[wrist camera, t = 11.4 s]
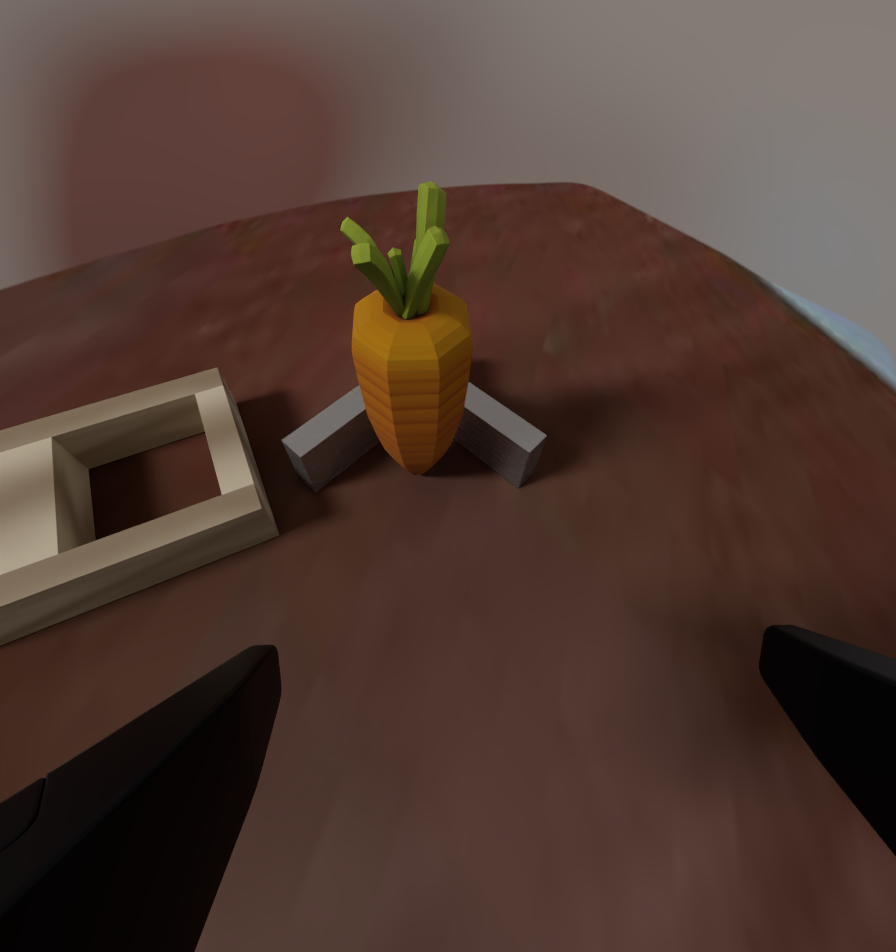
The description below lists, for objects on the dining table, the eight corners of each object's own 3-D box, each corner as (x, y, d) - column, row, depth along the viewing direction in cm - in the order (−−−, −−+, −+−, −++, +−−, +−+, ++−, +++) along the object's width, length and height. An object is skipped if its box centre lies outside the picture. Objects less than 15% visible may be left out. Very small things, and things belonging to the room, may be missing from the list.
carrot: (394, 522, 25) (356, 268, 12) (362, 453, 27) (300, 178, 14) (476, 488, 26) (519, 226, 13) (438, 425, 28) (445, 149, 16)
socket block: (279, 535, 24) (261, 508, 22) (-32, 658, 21) (-97, 643, 18) (236, 402, 29) (217, 367, 26) (-25, 484, 25) (-76, 452, 23)
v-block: (536, 487, 26) (550, 452, 23) (296, 493, 26) (278, 457, 23) (517, 374, 31) (526, 332, 28) (313, 376, 30) (300, 334, 27)
